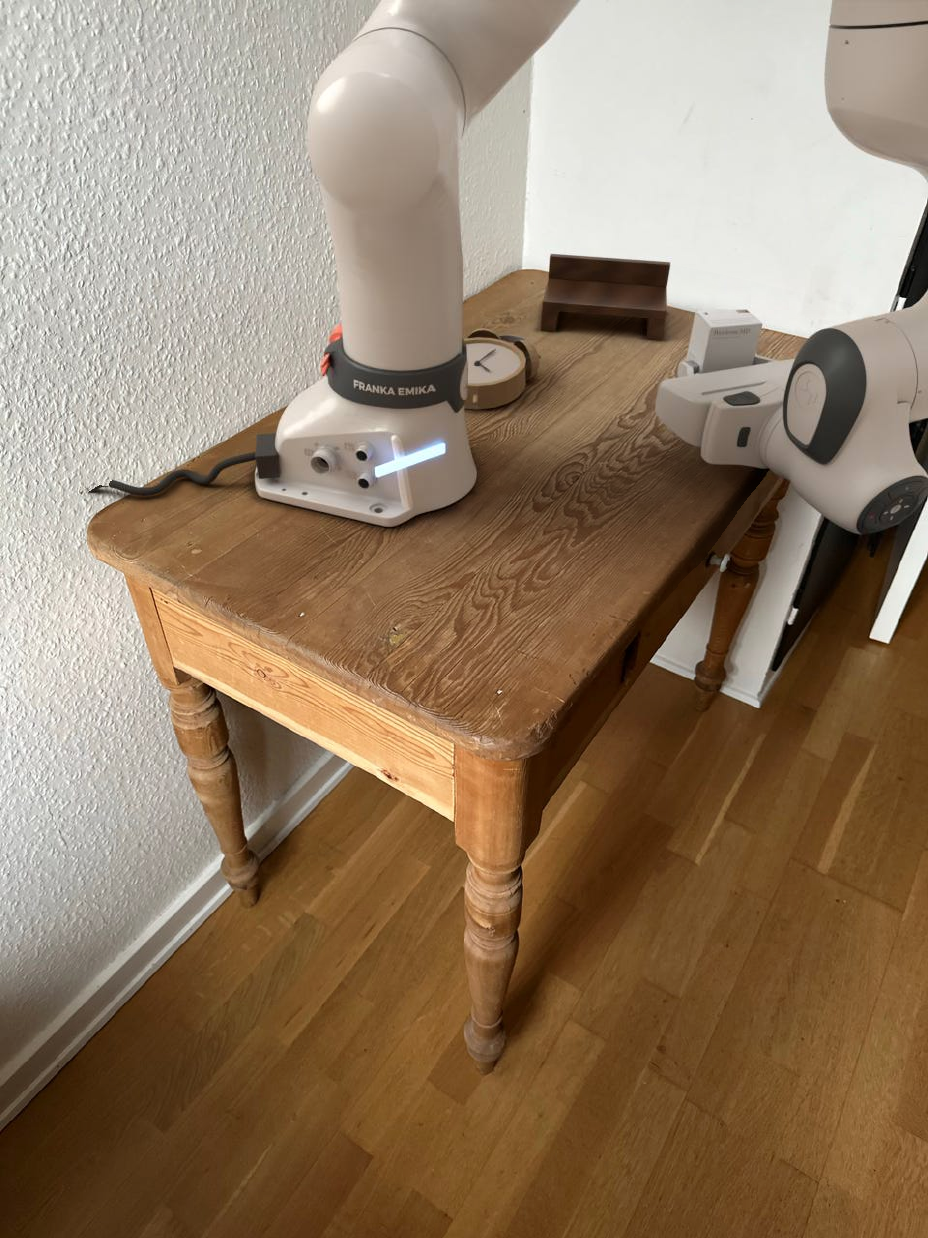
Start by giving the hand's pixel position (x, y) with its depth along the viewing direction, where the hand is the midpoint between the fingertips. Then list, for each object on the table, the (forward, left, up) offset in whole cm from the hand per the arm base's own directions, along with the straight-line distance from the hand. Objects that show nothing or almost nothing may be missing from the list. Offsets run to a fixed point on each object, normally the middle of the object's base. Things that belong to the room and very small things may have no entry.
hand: (713, 362), depth 99 cm
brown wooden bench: (-13, +24, -7) cm, 28 cm away
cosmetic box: (0, -1, -7) cm, 7 cm away
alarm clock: (-26, +4, -7) cm, 27 cm away
